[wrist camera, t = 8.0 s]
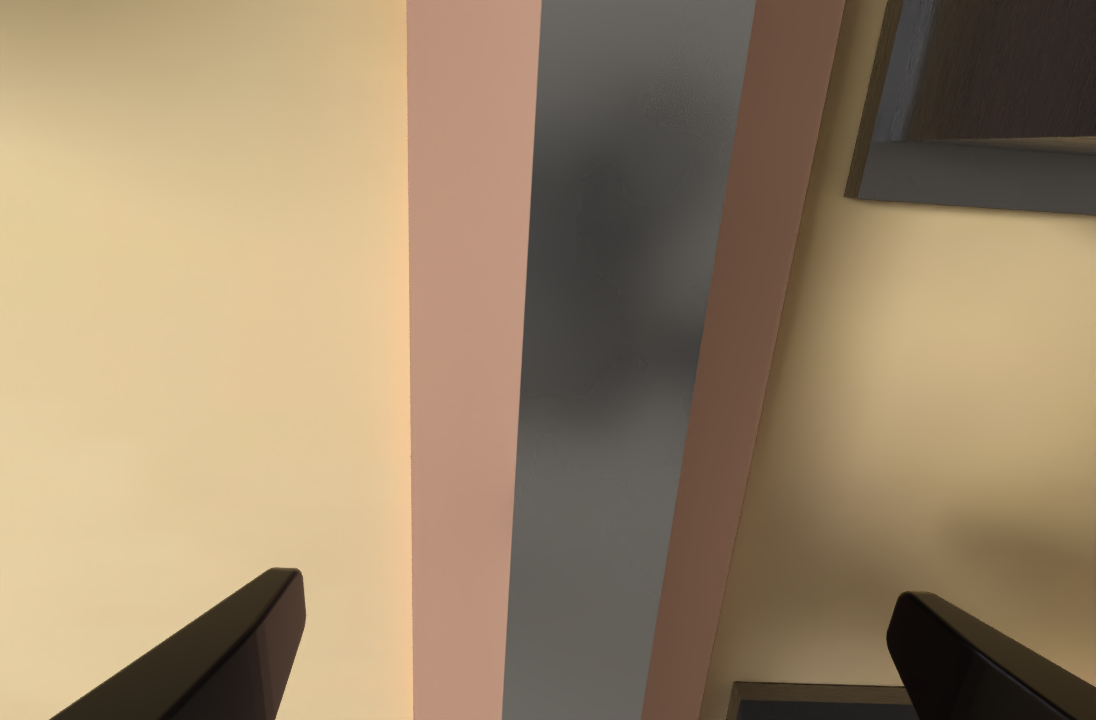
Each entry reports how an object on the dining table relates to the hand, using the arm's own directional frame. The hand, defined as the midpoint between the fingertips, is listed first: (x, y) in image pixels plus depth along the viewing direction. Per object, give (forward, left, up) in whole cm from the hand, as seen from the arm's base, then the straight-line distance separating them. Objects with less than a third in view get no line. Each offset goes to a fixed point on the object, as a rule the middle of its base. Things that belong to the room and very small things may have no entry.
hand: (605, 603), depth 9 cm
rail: (0, 0, -4) cm, 4 cm away
